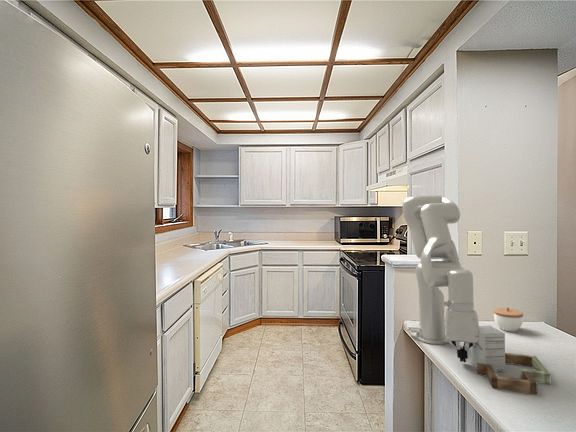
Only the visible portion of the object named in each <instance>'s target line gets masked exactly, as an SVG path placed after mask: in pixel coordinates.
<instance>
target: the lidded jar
mask: <svg viewBox="0 0 576 432" xmlns="http://www.w3.org/2000/svg"><path fill="white" fill-rule="evenodd" d="M493 320H494V321H495V324H496V325H497V326H498V328H499V330H502V331H505V332H512V333H513V332H514V333H515V332H517V331H518V330H520V328H521V327H522V325H523V322H524V321H523V320H524V313H523V312H522V311H520V310H518V309H514V308H510V307H496V308H494V309H493Z"/></svg>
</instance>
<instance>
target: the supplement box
mask: <svg viewBox="0 0 576 432" xmlns="http://www.w3.org/2000/svg"><path fill="white" fill-rule="evenodd" d="M505 353H506V333H505V332H503V331H501V330H500V329H497V328H496V327H494V326H492V325H479V342H478V343H475V346H474V345H473V346H472V347H471V348H470V360H471V361H470V362H471V364H473V365H474V366H476V367H477V363H480V364H488V365H491V366H492V368H493V370H494V372H495V373H500V372H499V371H505V372H506V363H505Z"/></svg>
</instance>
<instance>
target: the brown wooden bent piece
mask: <svg viewBox="0 0 576 432" xmlns="http://www.w3.org/2000/svg"><path fill="white" fill-rule="evenodd" d="M486 370H487V376H486V378H487V380H488V383H489V385H490V387H491V389H498V390H504V391H505V390H506V391H513V392H520V393H526V394H530V395H531V394H533V395H537V394H538V384H537V382H535V381H534V379H533V378H532V376H531V375H530V373H529V372H528V371H522V376H523V379H521V378H515V377H508V376H501V375H496V372H494V370H493V368H492V367H488V366H486Z"/></svg>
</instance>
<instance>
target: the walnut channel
mask: <svg viewBox="0 0 576 432" xmlns="http://www.w3.org/2000/svg"><path fill="white" fill-rule="evenodd" d="M508 363H513V364H512V365H516V364H521V365H520V366H524V365H529V366H528V367H532V368H533V369H527V368H520V379H523V376H522V371H528V372H529V373H530V375H531V376H532V378H533V379H534V381H535V382H536V383H539V384H544V385H545V384H546V385H551V383H552V381H551V380H552V379H551V377H552V376H551V373H550V371H549V370H548V369H547V368H546V367H545V365H543V363H542V362H541V360H540V359H538V357H537V356H536V355H530V354H522V353H512V352H511V353H510V352H505V364H508ZM486 366H488V367H492V366H491V365H488V364H480V363H477V366H476V374H477V375H478V374H479V376H485V375H486V377H487V370H486ZM534 369H535V370H534Z"/></svg>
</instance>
